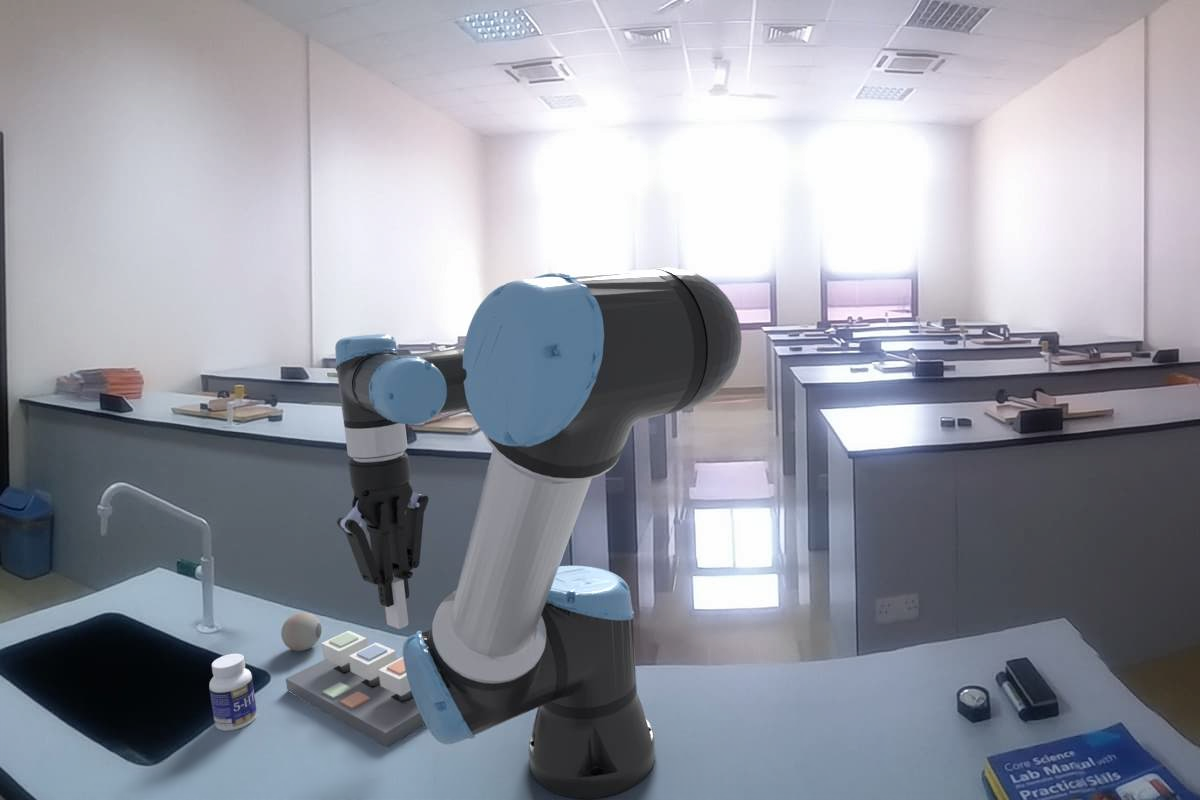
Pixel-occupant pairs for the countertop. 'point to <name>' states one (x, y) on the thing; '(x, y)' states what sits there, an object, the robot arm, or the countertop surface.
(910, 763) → the countertop surface
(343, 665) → the key sage
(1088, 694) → the countertop surface
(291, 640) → the eyeball
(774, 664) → the countertop surface
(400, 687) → the key terracotta
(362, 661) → the white boxy piece
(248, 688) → the pill bottle
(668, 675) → the countertop surface
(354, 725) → the keypad board
